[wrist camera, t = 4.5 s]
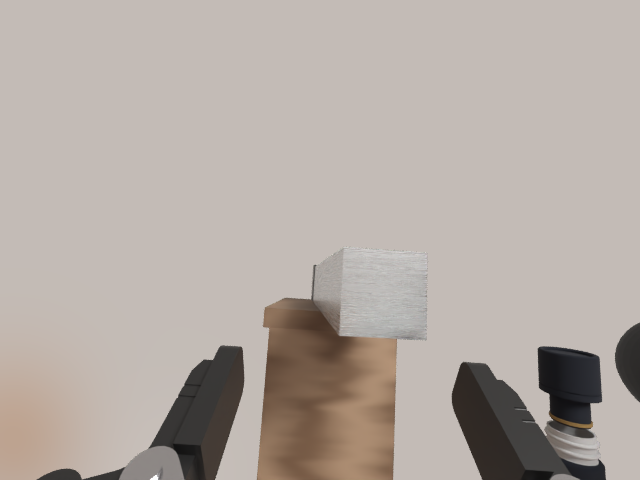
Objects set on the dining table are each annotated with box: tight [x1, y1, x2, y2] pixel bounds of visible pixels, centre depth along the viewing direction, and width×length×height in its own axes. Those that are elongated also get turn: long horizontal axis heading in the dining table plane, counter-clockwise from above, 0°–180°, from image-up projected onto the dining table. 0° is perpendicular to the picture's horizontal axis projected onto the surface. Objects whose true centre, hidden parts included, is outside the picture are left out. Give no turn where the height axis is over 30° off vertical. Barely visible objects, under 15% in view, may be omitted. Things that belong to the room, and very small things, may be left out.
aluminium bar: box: [311, 247, 428, 340], centre depth 26 cm, size 4×24×4 cm, turn 4°
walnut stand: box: [257, 298, 397, 480], centre depth 29 cm, size 11×14×32 cm
